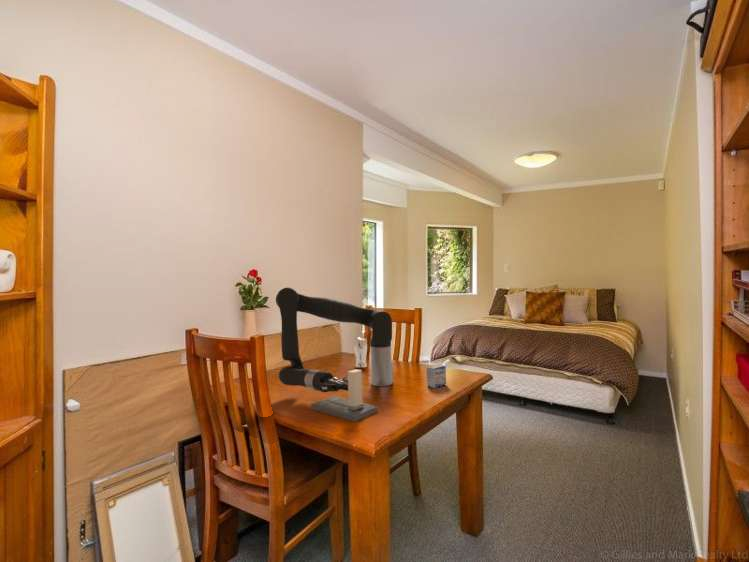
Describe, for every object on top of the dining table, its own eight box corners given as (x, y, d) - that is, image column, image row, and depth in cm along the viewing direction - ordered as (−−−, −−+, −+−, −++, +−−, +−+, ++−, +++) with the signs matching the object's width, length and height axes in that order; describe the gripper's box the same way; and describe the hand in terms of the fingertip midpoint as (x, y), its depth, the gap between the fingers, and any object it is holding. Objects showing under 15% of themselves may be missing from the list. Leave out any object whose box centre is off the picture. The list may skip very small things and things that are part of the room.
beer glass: (356, 368, 206) (355, 340, 206) (353, 365, 213) (352, 338, 213) (369, 367, 208) (368, 339, 208) (365, 364, 215) (365, 337, 215)
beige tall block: (356, 404, 142) (355, 368, 142) (364, 406, 140) (363, 370, 140) (346, 408, 138) (345, 371, 138) (355, 410, 136) (354, 373, 136)
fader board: (334, 400, 155) (334, 395, 155) (377, 411, 141) (377, 406, 141) (311, 409, 145) (311, 403, 145) (355, 422, 131) (354, 415, 131)
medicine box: (434, 388, 167) (433, 368, 166) (426, 386, 170) (426, 367, 170) (446, 385, 172) (446, 365, 171) (438, 383, 175) (438, 364, 175)
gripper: (305, 374, 146) (338, 381, 135) (330, 367, 156) (363, 373, 145) (306, 394, 146) (339, 403, 135) (331, 386, 156) (364, 393, 145)
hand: (351, 387), depth 140 cm, fingers closed
